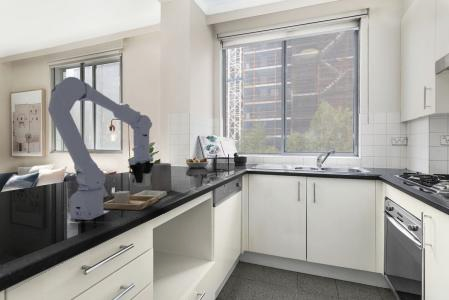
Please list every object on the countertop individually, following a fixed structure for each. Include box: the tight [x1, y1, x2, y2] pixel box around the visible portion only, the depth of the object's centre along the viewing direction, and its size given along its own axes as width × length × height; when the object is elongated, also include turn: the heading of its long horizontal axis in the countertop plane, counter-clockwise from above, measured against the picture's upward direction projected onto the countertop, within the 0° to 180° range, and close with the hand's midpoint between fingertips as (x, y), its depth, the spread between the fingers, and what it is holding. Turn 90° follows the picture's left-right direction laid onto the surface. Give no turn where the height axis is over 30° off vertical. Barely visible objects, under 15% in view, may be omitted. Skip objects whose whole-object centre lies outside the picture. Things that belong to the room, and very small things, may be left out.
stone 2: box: [133, 172, 151, 187], centre depth 92 cm, size 4×4×4 cm
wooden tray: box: [103, 194, 159, 211], centre depth 92 cm, size 14×15×2 cm
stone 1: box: [113, 190, 131, 204], centre depth 92 cm, size 4×4×4 cm
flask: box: [103, 183, 109, 199], centre depth 105 cm, size 7×7×10 cm
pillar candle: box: [150, 162, 172, 193], centre depth 119 cm, size 10×10×15 cm
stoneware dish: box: [131, 190, 168, 200], centre depth 104 cm, size 11×11×2 cm
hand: (142, 181), depth 92 cm, fingers closed on stone 2, 4 cm apart
